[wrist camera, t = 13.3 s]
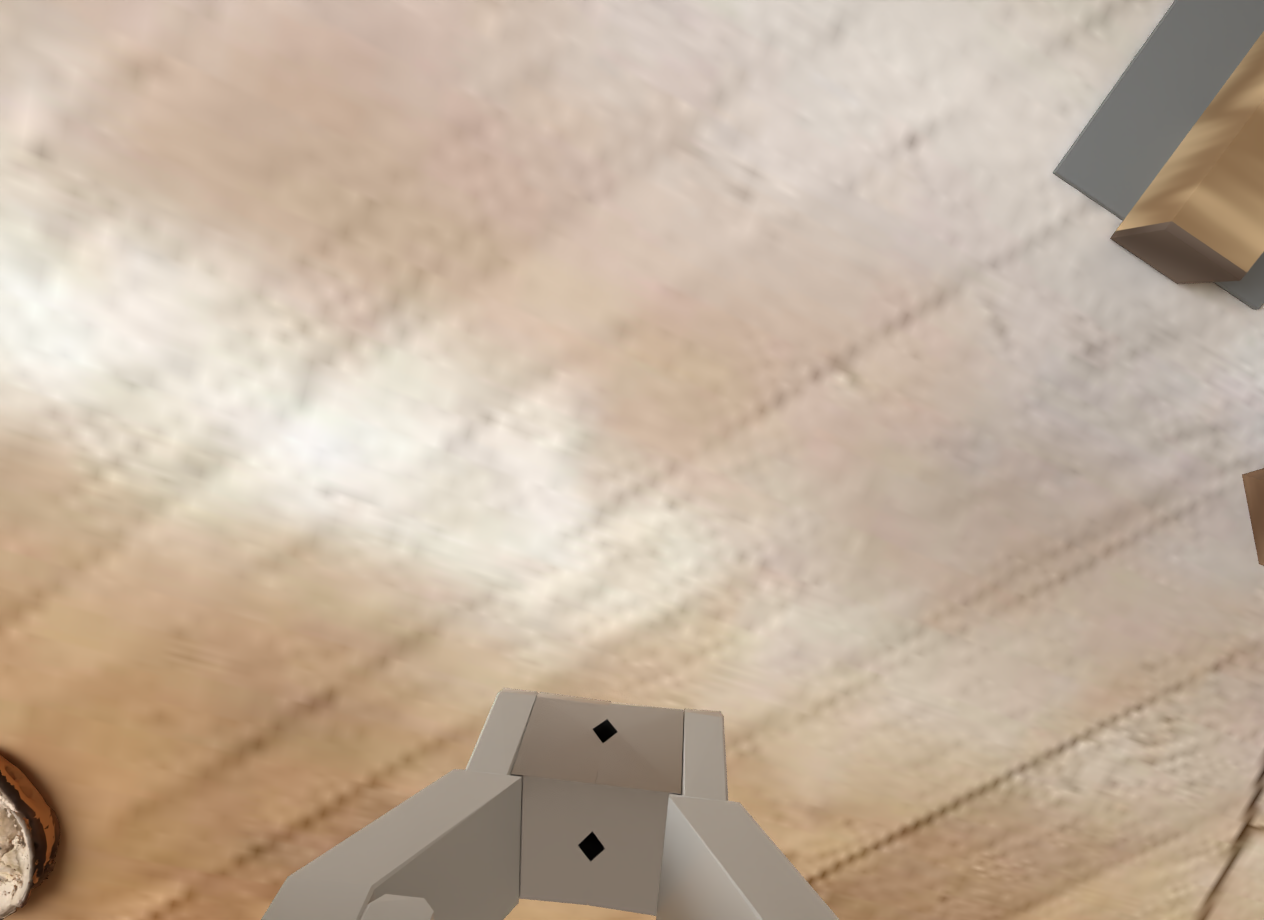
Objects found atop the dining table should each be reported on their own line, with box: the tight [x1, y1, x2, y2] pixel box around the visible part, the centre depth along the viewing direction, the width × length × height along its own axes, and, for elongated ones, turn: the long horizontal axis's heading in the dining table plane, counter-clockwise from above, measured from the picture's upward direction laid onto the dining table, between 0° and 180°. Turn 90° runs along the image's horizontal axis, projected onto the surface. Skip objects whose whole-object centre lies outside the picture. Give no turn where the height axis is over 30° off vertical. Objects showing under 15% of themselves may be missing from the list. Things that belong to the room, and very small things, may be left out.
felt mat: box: [1053, 0, 1264, 309], centre depth 34 cm, size 14×12×1 cm
